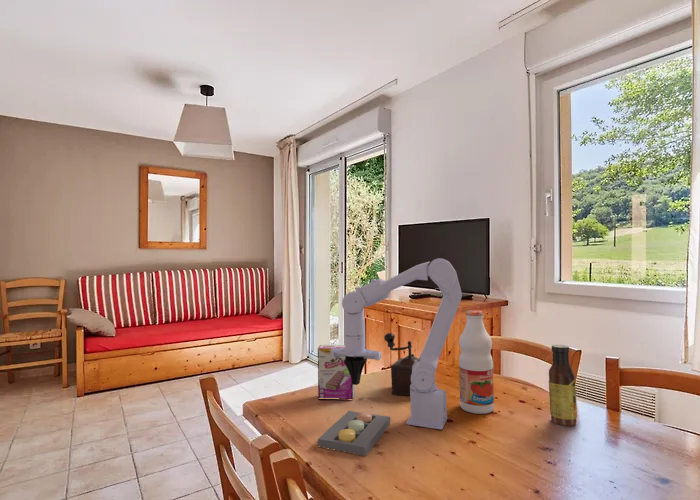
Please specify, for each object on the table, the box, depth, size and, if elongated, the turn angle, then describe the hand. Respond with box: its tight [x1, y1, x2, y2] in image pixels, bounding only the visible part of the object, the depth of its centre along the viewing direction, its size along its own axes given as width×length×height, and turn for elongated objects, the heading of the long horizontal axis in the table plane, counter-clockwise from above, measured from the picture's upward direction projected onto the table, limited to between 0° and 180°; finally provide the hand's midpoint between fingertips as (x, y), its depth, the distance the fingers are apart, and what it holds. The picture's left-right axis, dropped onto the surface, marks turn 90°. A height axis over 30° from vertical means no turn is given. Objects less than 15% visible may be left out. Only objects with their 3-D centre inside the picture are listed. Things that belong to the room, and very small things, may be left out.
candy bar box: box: [317, 344, 355, 400], centre depth 127 cm, size 11×5×16 cm, turn 84°
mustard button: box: [339, 429, 355, 443], centre depth 95 cm, size 4×4×2 cm
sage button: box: [348, 420, 364, 433], centre depth 101 cm, size 4×4×2 cm
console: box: [317, 410, 391, 457], centre depth 101 cm, size 12×18×2 cm, turn 156°
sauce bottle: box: [548, 344, 578, 427], centre depth 105 cm, size 7×6×20 cm
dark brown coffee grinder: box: [383, 332, 419, 398], centre depth 133 cm, size 16×11×18 cm
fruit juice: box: [458, 309, 495, 415], centre depth 116 cm, size 9×9×28 cm
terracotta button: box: [357, 411, 373, 423], centre depth 106 cm, size 4×4×2 cm
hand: (356, 383), depth 111 cm, fingers closed
